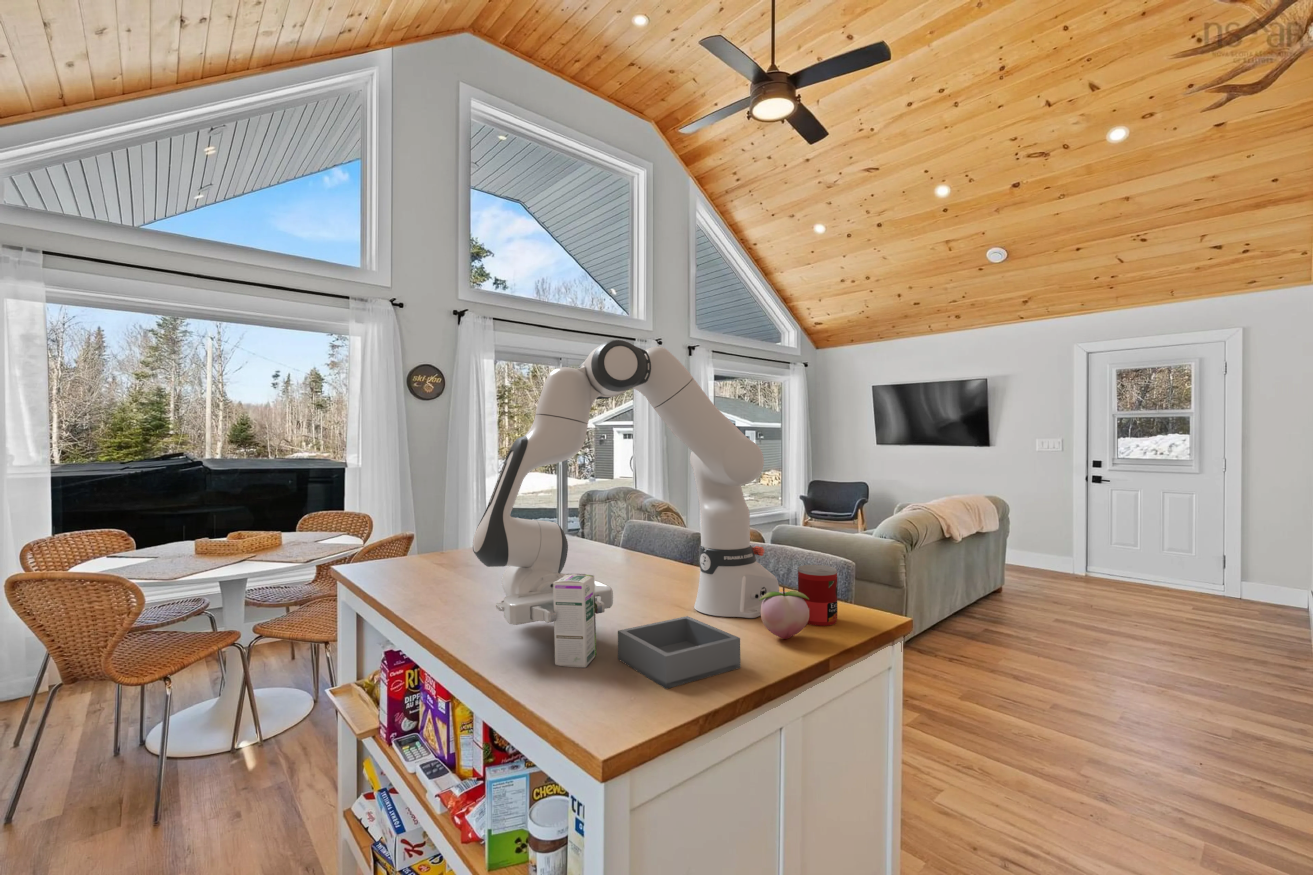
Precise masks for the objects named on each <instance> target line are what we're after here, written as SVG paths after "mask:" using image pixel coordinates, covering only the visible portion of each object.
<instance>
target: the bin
mask: <svg viewBox="0 0 1313 875" xmlns="http://www.w3.org/2000/svg"><path fill="white" fill-rule="evenodd" d="M617 660H618V661H620V660H621V661H620V662H622V663H623V662H624V664H625V663H626V664H625V665H627V666H628V665H629V667H630V668H631V667H632V669H633V670H635V671H636V670H637V671H636V672H638V673H639V672H640V674H641V675H642V676H644V675H645V676H644V677H646V678H647V679H649V680H651V681H652V682H654V683H655V684H657V685H659V686H660V687H662V688H664V689H665V690H667V688H668V689H671V688H674V687H679V686H681V685H686V684H689V683H692V681H693V682H696V681H699V679H700V680H703V679H707V678H710V677H714V676H717V675H721V674H724V673H728V672H731V671H734V669H735V670H737V669H741V637H739V636H737V635H734V634H731V633H729V632H726V631H724V630H722V629H719V628H717V627H714V626H712V625H710V624H708V623H705V622H703V621H700V620H698V619H695V618H693V617H691V616H688V615H685V616H680V617H675V618H671V619H667V620H662V621H658V622H653V623H648V624H644V625H639V626H638V625H637V626H634V627H633V626H632V627H629V628H625V629H620V630H619V629H618V630H617ZM713 675H714V676H713ZM688 682H689V683H688ZM685 683H686V684H685ZM678 685H679V686H678Z"/></svg>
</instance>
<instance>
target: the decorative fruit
mask: <svg viewBox="0 0 1313 875" xmlns="http://www.w3.org/2000/svg"><path fill="white" fill-rule="evenodd" d="M785 588H786V587H785V586H782V591H779V592H769V593H766V594H765V595H763V596H762V597H761V598H760V600H763V599H764V600H763V602H762V604H761V616H760V618H761V621H762V624H763V625H764V627H765V628H766V630H768V631H769V632H770V633H771V634H773V635H775V636H776V637H779V638H781V639H783V640H787V639H790V638H792V637H794V636H795V635H797V634H798V633H800V632H801V631H802V630H804V628H805V627H806V626H807V625H808V624H807V623H808V620H809V609H808V606H807V604H806V602H805V601H804V599H803V598H806V599H809V598H808V597H807V596H806V595H804V594H803V593H801V592H798V590H789V591H786V590H785ZM802 597H803V598H802ZM760 600H759V601H760Z"/></svg>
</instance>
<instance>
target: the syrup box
mask: <svg viewBox="0 0 1313 875" xmlns="http://www.w3.org/2000/svg"><path fill="white" fill-rule="evenodd" d="M564 574H565V575H564V577H562V578H560V579H559V580H557V581H555V582H554V583H553V595H554V611H555V612H556V616H555V617H556V621H555V622H553V627H554V629H553V633H554V634H553V636H554V637H553V639H554V664H555V666H559V667H568V668H569V667H570V668H584V669H585V668H587V667H588V666H589V664H590V663H591V662H592V661H593V660H594V658H595V657H596V656H597V632H596V631H597V628H596V626H597V623H596V621H597V620H596V613H595V580H596V579H595V575H594V574H593V575H592V574H586V573H568V574H569V575H566V574H567V573H564Z"/></svg>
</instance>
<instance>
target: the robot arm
mask: <svg viewBox="0 0 1313 875" xmlns="http://www.w3.org/2000/svg"><path fill="white" fill-rule="evenodd" d="M631 389H633V390H636V391H638V392H639V393H641V394H642V395H643V396H644V397H645V398H646V400H647V401H648V403H649V404H650V405H651V407H652V408H653V409H654V410H655V412H656V414H658V415H659V417H660V419H661V420H662V421H663V422H664V424H665V425H666V426H667V428H668V429H669V430H670V431H671V432H672V434H673V435H674V437H676V438H677V439H678V440H680V441H681V442H682V443H683V444H684V445H685V446H686V447H687V448H688V449H690V450H691V452H690V456H689V464H690V466H691V469H692V472H693V474H694V480H695V487H696V488H695V489H696V493H697V498H698V503H699V504H698V505H699V510H700V545H699V548H698V562H699V569H700V571H699V572H700V573H699V580H698V588H697V594H696V599H695V602H694V606H693V607H694V609H695V610H696V611H698V612H700V613H702V614H705V615H710V616H716V617H727V618H729V617H731V618H732V617H733V618H735V617H737V618H744V619H745V618H746V619H755V618H757V617H761V604H762V602H763V600H764V599H763V600H760V598H761V597H762V596H763V595H765V594H766V593H769V592H780V586H779V585H780V584H779V582H778V579H777V577H776V576H775V575H774V574H773V573H772V572H770V571H769V570H767V568H765V567H764V566H763V565H762V564H761V563H759V562H758V561H757V557H756V556H759V557H762V556H764V555H765V548H764V547H763V546H758V545H756V546H753V545H751V524H750V522H751V521H750V520H751V518H750V517H751V516H750V509H749V506H748V505H747V502H746V500H745V497H744V493H743V488H742V486H744V485H746V484H747V485H748V484H749V483H751V482H753V481H755V480H756V479H757V478H758V477H759V476H760V475H761V473H762V471H763V468H764V465H765V464H764V462H765V460H764V455H763V452H762V449H761V447H760V446H759V445H758V444H756V443H755V441H752V440H751V439H750V438H749V437H747V436H746V435H745V433H743V432H742V431H741V430H740V429H739V428H738V427H737V426H736V425H735V424H734V423H733V422H732V421H731V420H730V419H729V418H728V417H727V416H726V415H725V414H724V413H723V412H721V411H720V409H718V408H717V406H716V405H715V404H714V403H713V402H712V401H711V399H710V398H709V397H708V396H707V394H706V393H705V391H704V390H703V389H702V387H701V386H700V385H699V384H698V382H697V381H696V379H695V378H694V377H693V376H692V374H691V373H690V372H689V370H688V369H687V368H686V367H685V366H684V364H683V363H681V362H680V361H679V359H677V357H676V356H674V354H672V353H671V351H669V350H668V349H667V348H665V347H663V346H659V345H657V346H652V347H649V348H647V349H644V348H643V349H642V348H640V347H638V346H636V345H634V344H632V343H630V342H628V341H627V340H626V341H625V340H622V339H610V340H607V341H604V342H602V343H601V344H600V345H599V346H597V347H595V348H594V349H592V350H591V351H590V353H589V354H588V356H587V357H586V358H585V359H584V361H583V362H582V363H581V364H580V365H579V366H578V367H577V368H574V367H571V366H561V367H557V368H555V369H553V370H551V371H550V372H549V373H548V375H547V377H546V379H545V381H544V383H543V387H542V390H541V392H540V395H539V398H538V402H537V406H536V410H535V416H534V419H533V422H532V424H531V427H530V428H529V430H528V431H527V432H526V433H525V435H524V436H521V437H517V438H516V439H515V441H514V442H513V443H512V445H511V447H510V449H509V451H508V453H507V456H506V458H505V460H504V463H503V465H502V468H501V470H500V473H499V475H498V478H497V480H496V483H495V485H494V488H493V490H492V493H491V496H490V499H489V501H488V503H487V506H486V508H485V511H484V513H483V515H482V517H481V519H480V520H479V523H478V525H477V528H476V530H475V532H474V535H473V542H472V551H473V553H474V555H475V557H476V558H477V559H478V560H479V561H480V562H481V563H482V564H483V565H484V566H486V567H487V568H490V567H491V568H494V567H497V568H499V567H502V568H503V567H506V569H505V570H504V572H503V574H502V577H501V586H502V590H503V592H504V594H505V597H504V598H503V600H501V601H500V602H497V603H496V604H495V609H496V610H498V612H499V611H500V612H503V618H504V619H505V621H506V622H507V623H508V624H509V625H512V626H518V625H523V624H524V625H525V624H530V623H534V622H545V623H547V624H550V623H554V622H555V621H556V617H555V616H556V612H555V611H554V595H553V583H554V582H555V581H557V580H559V579H560V578H562V577H564V575H565V574H566V575H569V574H570V573H562V571H563V569H564V567H565V564H566V561H567V557H568V550H569V544H568V539H567V537H566V534H565V532H564V530H563V529H562V526H561V525H560V524H558V523H557V522H556V521H555V522H553V521H547V520H541V519H528V518H522V517H521V518H519V517H514V516H511V514H512V510H513V509H514V505H515V503H516V500H517V497H518V494H519V493H520V489H521V487H522V485H523V484H522V483H523V482H524V479H525V478H526V476H527V475H528V474H530V472H532V471H533V470H536V469H538V468H541V467H544V466H549V465H553V464H554V465H555V464H558V463H563V462H565V461H567V460H570V459H572V458H573V457H575V456H576V455H577V454H578V453H579V452H580V451H581V450H582V448H583V446H584V443H585V440H586V437H587V432H588V424H589V419H590V413H591V410H592V407H593V404H594V402H595V401H596V400H604V399H605V400H606V399H609V398H610V399H611V398H614V397H617V396H620V395H622V394H624V393H625V392H627V391H628V390H631ZM594 580H595V615H597V614H602V613H605V611H606V609H610V608H612V606H613V604H614V590H613V588H612V587H611V585H610V586H609V585H607V584H606V583H604V582H601V581H599V580H596V579H594ZM759 600H760V601H759Z"/></svg>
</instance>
